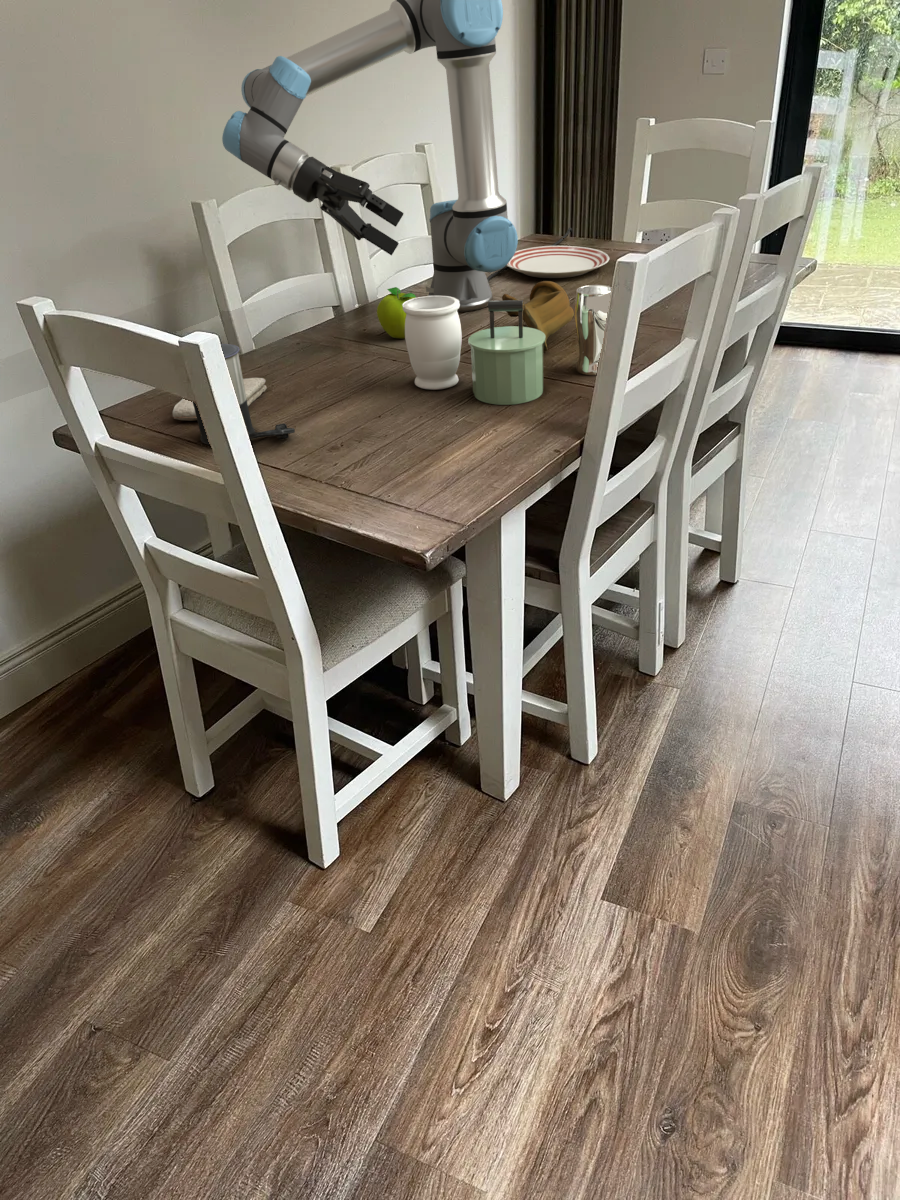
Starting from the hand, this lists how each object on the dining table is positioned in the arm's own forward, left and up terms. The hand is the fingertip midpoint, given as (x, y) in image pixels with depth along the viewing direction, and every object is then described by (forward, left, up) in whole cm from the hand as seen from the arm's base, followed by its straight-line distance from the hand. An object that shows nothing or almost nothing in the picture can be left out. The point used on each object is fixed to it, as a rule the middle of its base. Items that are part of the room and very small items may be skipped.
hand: (397, 235), depth 177 cm
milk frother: (+47, -3, -24) cm, 53 cm away
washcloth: (+36, -18, -24) cm, 47 cm away
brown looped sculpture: (-17, +22, -24) cm, 36 cm away
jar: (+12, +14, -24) cm, 30 cm away
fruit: (-11, -8, -24) cm, 27 cm away
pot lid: (+12, +29, -14) cm, 34 cm away
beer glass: (-4, +39, -24) cm, 46 cm away
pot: (+12, +29, -23) cm, 39 cm away
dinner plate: (-74, +1, -24) cm, 77 cm away
